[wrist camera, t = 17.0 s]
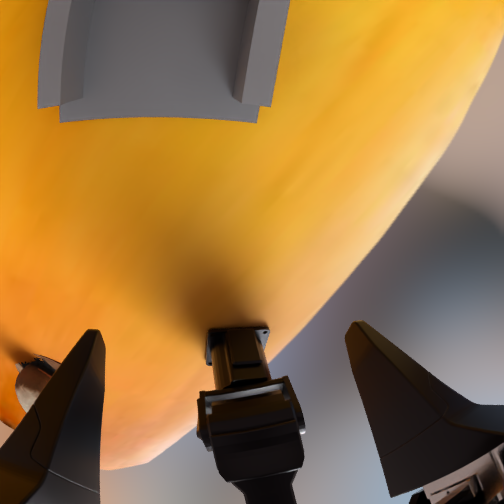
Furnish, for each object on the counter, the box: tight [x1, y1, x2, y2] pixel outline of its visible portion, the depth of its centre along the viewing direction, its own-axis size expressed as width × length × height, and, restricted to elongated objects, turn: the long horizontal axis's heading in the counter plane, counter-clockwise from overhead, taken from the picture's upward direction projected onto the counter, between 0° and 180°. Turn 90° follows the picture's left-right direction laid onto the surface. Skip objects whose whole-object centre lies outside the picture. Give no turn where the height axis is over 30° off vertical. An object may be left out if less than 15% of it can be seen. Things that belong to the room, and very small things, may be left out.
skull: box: [15, 354, 61, 413], centre depth 29 cm, size 12×10×10 cm
